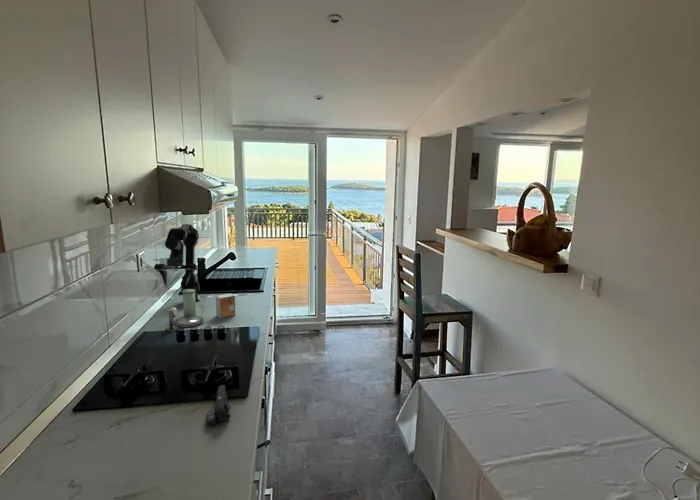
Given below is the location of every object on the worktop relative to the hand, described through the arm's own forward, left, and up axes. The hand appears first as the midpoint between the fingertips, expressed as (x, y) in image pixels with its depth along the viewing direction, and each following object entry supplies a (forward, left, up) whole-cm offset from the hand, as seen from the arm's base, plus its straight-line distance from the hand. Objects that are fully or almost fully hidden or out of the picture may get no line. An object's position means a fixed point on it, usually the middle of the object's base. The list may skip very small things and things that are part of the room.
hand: (175, 285), depth 184 cm
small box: (-17, +14, -17) cm, 29 cm away
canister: (-6, +1, -17) cm, 18 cm away
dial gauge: (+10, +11, -17) cm, 22 cm away
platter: (0, +9, -17) cm, 19 cm away
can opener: (+35, +79, -18) cm, 89 cm away
